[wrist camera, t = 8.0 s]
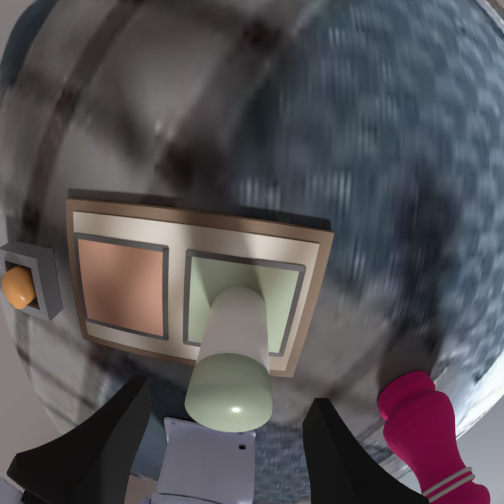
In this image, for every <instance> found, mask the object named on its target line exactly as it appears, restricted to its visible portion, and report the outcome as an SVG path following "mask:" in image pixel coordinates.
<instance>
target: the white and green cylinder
mask: <svg viewBox="0 0 504 504" xmlns="http://www.w3.org/2000/svg"><path fill="white" fill-rule="evenodd" d="M185 408H186V410H187V412H188V414H189V415H190V416H191V417H192V418H193V419H194V420H195V421H197V422H198V423H200V424H202V425H203V426H206V427H208V428H211V429H214V430H218V431H223V432H245V431H250V430H253V429H256V428H258V427H260V426H262V425H264V424H265V423H266V422H267V421H268V420H269V419H270V417H271V415H272V391H271V377H270V371H269V349H268V329H267V310H266V304H265V302H264V300H263V298H262V297H261V296H260V295H259V294H258V293H257V292H255V291H254V290H252V289H249V288H246V287H238V286H237V287H230V288H227V289H225V290H223V291H221V292H220V293H219V294H218V295H217V296H216V297H215V299H214V301H213V303H212V307H211V310H210V314H209V317H208V321H207V325H206V328H205V332H204V335H203V339H202V343H201V346H200V350H199V354H198V357H197V361H196V365H195V367H194V369H193V372H192V376H191V379H190V383H189V387H188V391H187V395H186V398H185Z"/></svg>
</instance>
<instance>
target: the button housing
mask: <svg viewBox="0 0 504 504" xmlns="http://www.w3.org/2000/svg"><path fill="white" fill-rule="evenodd" d="M0 265H1V270H2V275H3V274H4V273H6V272H8V271H9V270H11V269H12V268H14V267H15V266H17V265H22V266H26V267H29V268H31V270H32V276H33V281H34V286H35V291H36V295H37V296H36V298H35V299H33V300H32V301H31V302H30V303H29V304H28V305H26V306H25V307H24V308H23V309H18V310H21V311H23V312H26V313H28V314H30V315H33V316H35V317H38V318H41V319H43V320H46V321H48V322H50V321H51V320H52V319H53V318H54V317H55V316H56V315H57V314H58V313H59V312H60V311H61V310H62V309H63V307H62V302H61V297H60V292H59V287H58V281H57V274H56V268H55V260H54V252H53V249H52V248H47V247H42V246H38V245H33V244H28V243H23V242H19V241H14V240H13V241H11V242H9V243H7V244H5V245H3V246H1V247H0ZM9 303H10V302H9ZM10 306H12V307H14V306H13V305H12V304H11V303H10ZM14 308H15V307H14ZM16 309H17V308H16Z"/></svg>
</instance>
